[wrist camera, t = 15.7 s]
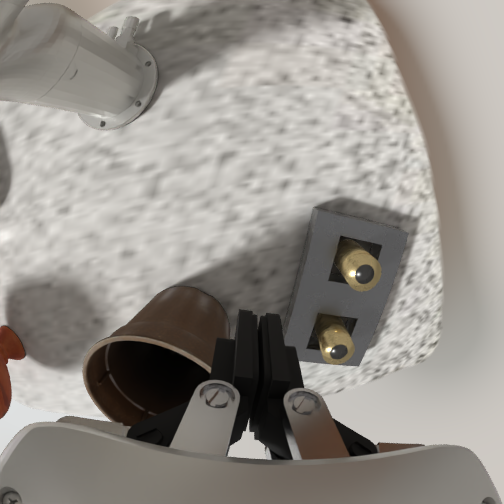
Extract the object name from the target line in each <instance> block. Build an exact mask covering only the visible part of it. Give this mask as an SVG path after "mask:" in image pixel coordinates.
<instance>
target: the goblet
mask: <svg viewBox="0 0 504 504" xmlns="http://www.w3.org/2000/svg"><path fill="white" fill-rule="evenodd" d="M24 356H25V351H24V349H23V346H22V344H21V342H20V340H19V338H18V337H17V336H16V334H15V333H14V332H13V331H12V330H11V329H9V328H8V327H6V326H1V327H0V419H1V418H2V417H3V416H4V415H5V414H6V413H7V411H8V409H9V406H10V403H11V396H12V390H11V381H10V376H9V372H8V368H7V366H6V364H7V363H8V359H14V360H21V359H23V358H24Z"/></svg>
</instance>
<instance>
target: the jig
mask: <svg viewBox="0 0 504 504" xmlns="http://www.w3.org/2000/svg"><path fill="white" fill-rule="evenodd" d="M340 236H345V237H349V238H354V239H358V240H363V241H367V242H371V243H372V246H371V250H370V253H369V254H371V255H372V256H373V257H374V258H375V259H376V260H377V261H378V262H379V263H380V266H381V277H380V280H379V282H378V283H377V284H376V285H375V286H374V287H373V288H372V289H370V290H368V291H362V292H361V291H356V290H354V289H353V288H351V286H350V285H349V284H348V282H347V281H346V279H345V278H344V276H343V275H338V274H332V273H330V272H331V268H332V265H333V261H334V258H335V254H336V250H337V247H338V243H339V239H340ZM407 237H408V232H406V231H404V230H402V229H400V228H397V227H394V226H390V225H386V224H382V223H378V222H374V221H371V220H367V219H363V218H358V217H354V216H350V215H346V214H342V213H338V212H333V211H329V210H325V209H320V208H316V207H313V212H312V216H311V220H310V225H309V229H308V233H307V238H306V242H305V246H304V250H303V254H302V258H301V262H300V266H299V270H298V274H297V278H296V282H295V286H294V290H293V293H292V297H291V301H290V305H289V308H288V312H287V316H286V319H285V323H284V326H283V330H282V331H283V337H284V343H285V346H295V347H296V351H297V355H298V360H299V361H304V362H313V363H323V364H333V365H346V366H359V365H360V363H361V361H362V359H363V356H364V354H365V352H366V350H367V348H368V345H369V343H370V341H371V339H372V336H373V334H374V331H375V329H376V327H377V324H378V322H379V319H380V317H381V314H382V312H383V309H384V307H385V304H386V301H387V299H388V296H389V293H390V290H391V288H392V285H393V282H394V279H395V276H396V273H397V270H398V267H399V264H400V261H401V257H402V254H403V251H404V247H405V244H406V241H407ZM318 313H320V314H318ZM341 316H344V317H348V320H347V323H346V326H345V325H344V322H343V320H342V318H341ZM313 327H314V328H315V332H316V335H317V338H311V337H310V336H311V333H312V330H313Z"/></svg>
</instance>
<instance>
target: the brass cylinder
mask: <svg viewBox="0 0 504 504" xmlns="http://www.w3.org/2000/svg"><path fill="white" fill-rule="evenodd" d="M333 262H334V264H335V265H336V267H337V268H338V269H339V271H340V272H341V274H342V275H343V276H344V278H345V279H346V281H347V282H348V284H349V285H350V286H351V288H353V289H354V290H356V291H361V292H362V291H368V290H370V289H372V288H373V287H374V286H375V285H376V284H377V283H378V282H379V280H380V277H381V266H380V263H379V262H378V261H377V260H376V259H375V258H374V257H373V256H372V255H371V254H369V253H368V252H367V251H366V250H365V249H364V248H363V247H361V246H360V245H359V244H358V243H357V242H355V241H353V240H350V239H346V240H342V241H340V242H339V243H338V247H337V250H336V254H335V258H334V261H333Z"/></svg>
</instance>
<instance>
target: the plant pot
mask: <svg viewBox="0 0 504 504" xmlns="http://www.w3.org/2000/svg"><path fill="white" fill-rule="evenodd" d="M217 337H219V338H226V339H230V325H229V321H228V317H227V315H226V313H225V311H224V309H223V308H222V306H221V305H220V303H219V302H218V301H217V300H216V299H214V298H213V297H212V296H209V295H207V294H205V293H203V292H201V291H200V290H198V289H196V288H193V287H185V286H179V287H172V288H169V289H166V290H163V291H162V292H160V293H158V294H157V295H156V296H155V297H154V298H153V299H152V300H151V301H150V302H149V303H148V304H147V305H146V306H145V307H144V308H143V309H142V310H141V311H140V312H139V313H138V314H137V315H136V316H135V317H134V318H133V319H132V320H131V321H130V322H128V323H127V324H126V325H125V326H123V327H121V328H119V329H118V330H116V331H115V332H114V333H113V334H112V335H111V336H110V337H107V338H105V339H103V340H101V341H99V342H97V343H96V344H95V345H94V346H93V347H92V348H91V349H90V350H89V351H88V352H87V354H86V356H85V359H84V362H83V370H82V372H83V380H84V384H85V387H86V389H87V392H88V394H89V395H90V397H91V399H92V400H93V402H94V403H95V405H96V406H97V407H98V408H99V409H100V411H101V412H102V413H103V414H104V415H105V416H106V417H107V418H108V419H109V420H111V421H112V422H117V423H123V425H124V426H130V427H132V426H133V425H135V424H136V423H138V422H141V421H143V420H146V419H148V418H151V417H153V416H156V415H158V414H160V413H163V412H165V411H168V410H170V409H172V408H174V407H177V406H179V405H181V404H183V403H186V402H188V401H190V400H191V398H192V396H193V394H194V392H195V389H196V388H197V387H198V385H200V384H201V383H203V382H205V381H208V380H209V379H210V373H211V367H212V362H213V356H214V350H215V345H216V339H217Z"/></svg>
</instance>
